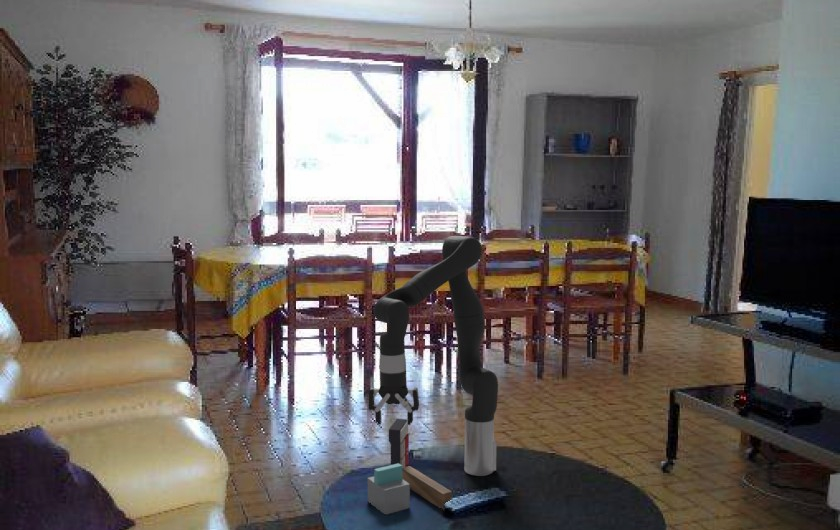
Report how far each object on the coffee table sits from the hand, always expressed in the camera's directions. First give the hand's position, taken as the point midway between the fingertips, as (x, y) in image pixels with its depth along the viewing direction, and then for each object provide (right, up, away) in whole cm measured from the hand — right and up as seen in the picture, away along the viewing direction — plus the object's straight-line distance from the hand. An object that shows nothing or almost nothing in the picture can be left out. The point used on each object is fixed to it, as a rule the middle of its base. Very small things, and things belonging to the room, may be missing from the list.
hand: (394, 423), depth 206 cm
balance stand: (-2, -23, -1) cm, 23 cm away
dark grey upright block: (+1, -20, +24) cm, 31 cm away
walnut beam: (+9, -22, +5) cm, 25 cm away
